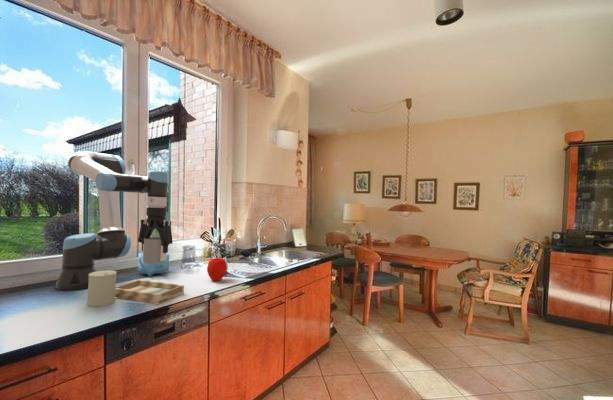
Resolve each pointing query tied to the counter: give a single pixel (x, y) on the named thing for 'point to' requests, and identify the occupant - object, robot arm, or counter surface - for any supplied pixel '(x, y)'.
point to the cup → (152, 250)
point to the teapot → (153, 266)
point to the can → (101, 288)
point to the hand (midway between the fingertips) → (154, 259)
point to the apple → (216, 268)
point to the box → (148, 291)
